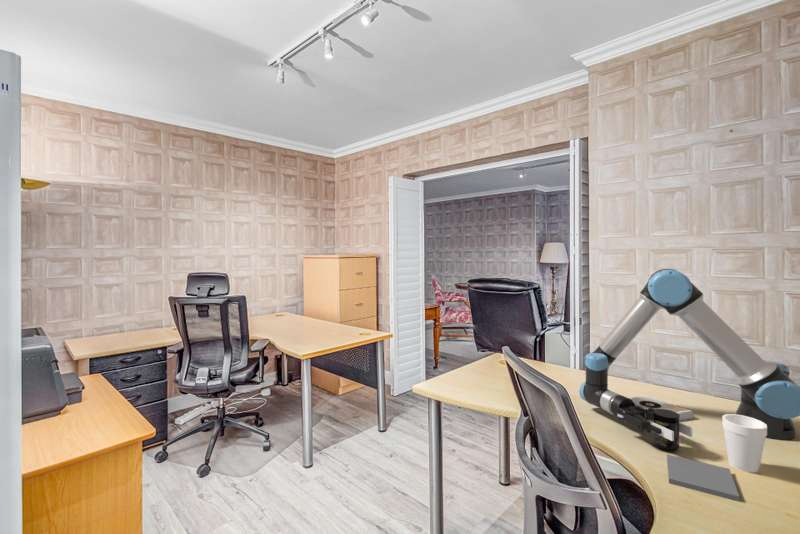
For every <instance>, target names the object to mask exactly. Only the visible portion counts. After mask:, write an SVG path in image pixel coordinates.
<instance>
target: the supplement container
mask: <svg viewBox="0 0 800 534" xmlns="http://www.w3.org/2000/svg"><path fill="white" fill-rule="evenodd" d="M680 421H681V420H680V415H679V414H678V413H676V412H674V411H671V410H666V409H655V410H653V421H652V423H653V422H654V423H656V424H658V425H660V426H663V427H665V428H667V429H669V430H671V431H674V441H671V440H669V439H667V438H665V437H663V436H660V435H658V434H656V433H654V432H652V433H653V436H652V437H653V440H652V441H653V444H654V445H655V447H657V448H660V449H661V450H664V451H669V452H675V451H678V450H679V449H680V432H679V426H680V423H681V422H680Z"/></svg>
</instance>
